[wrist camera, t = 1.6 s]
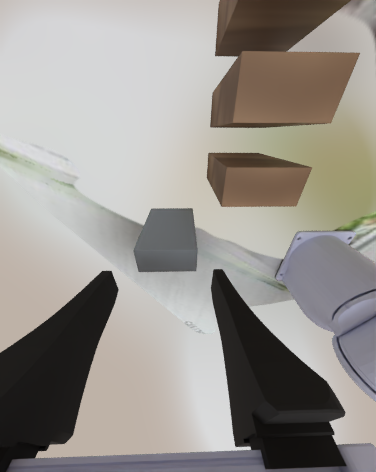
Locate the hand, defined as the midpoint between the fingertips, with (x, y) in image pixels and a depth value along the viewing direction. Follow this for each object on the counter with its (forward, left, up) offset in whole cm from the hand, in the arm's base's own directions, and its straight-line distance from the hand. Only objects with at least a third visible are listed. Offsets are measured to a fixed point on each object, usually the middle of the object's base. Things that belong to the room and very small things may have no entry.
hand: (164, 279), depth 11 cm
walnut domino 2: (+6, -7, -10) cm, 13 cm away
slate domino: (0, 0, -10) cm, 10 cm away
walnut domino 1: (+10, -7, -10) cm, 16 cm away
